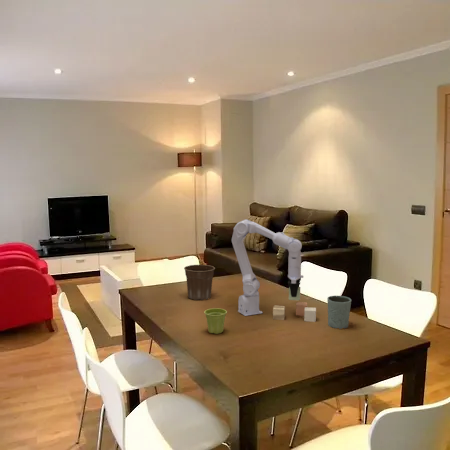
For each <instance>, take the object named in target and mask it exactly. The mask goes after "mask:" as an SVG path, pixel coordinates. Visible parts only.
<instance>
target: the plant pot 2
mask: <svg viewBox="0 0 450 450" xmlns="http://www.w3.org/2000/svg"><path fill="white" fill-rule="evenodd" d="M203 313H204V315H205V317H206V322H207V323H206V324H207V331H208V333H210V334H214V335H218V334H221V333H222V332H224V326H225V318H226V315H227V313H228V311H227V310H226V309H224V308H217V307H213V308H208V309H206V310H204V312H203Z"/></svg>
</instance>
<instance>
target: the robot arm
mask: <svg viewBox="0 0 450 450" xmlns="http://www.w3.org/2000/svg"><path fill="white" fill-rule="evenodd" d="M249 234H259V235H261V236H263V237H265V238H269V239H270V240H272V242H273V244H274V245H276V246H277V247H278V246H279V247H281V248H283V249H285V250H287V251H288V258H287V259H288V261H287V262H288V269H287V272H288V274H287V278H288V281H287V284H288V288H289V287H290V291H291V296H292V297H296V296H297V291H298V287H300V285H301V281H302V279H303V278H304V275H303V274H302V252H301V250H302V247H303V245H302V242H301V240H299V239H298V238H294V237H293V236H292V237H291V236H288V235H287V234H285V232H283V231H282V232H280V231H278V232H276V233H275V232H274V231H272V230H270V229H268V228H267V227H264V225H260V224H259V223H257V222H256V221H252V220H249V219H246V218H245V219H242V220H241V221H238V222H237V223H236V224H235V226H234V227H233V232H232V237H231V243H232V247H233V250H234V252H235V256H236V260H237V261H238V262H237V263H238V266H239V269H240V272H241V275H242V285H243V286H242V291H243V294H242V295H239V296H238V302H237V303H238V310H237V312H238V313H240V314H241V315H243V316H244V317H245V316H246V317H247V316H253V315H259V314H261V315H262V314H263V311H262V310H260V292H259V289H260V286H261V284H260V280H258V279H257V277H256V274H255V273H254V272H253V268H252V266H251V265H252V264H251V262H250V259H249V256H248V252H247V249H246V247H245V243H244V240H245V238H246V237H247V235H249Z"/></svg>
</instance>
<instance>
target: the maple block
mask: <svg viewBox="0 0 450 450" xmlns="http://www.w3.org/2000/svg"><path fill="white" fill-rule="evenodd" d="M285 317H286V306H285V305H273V307H272V320H279V321H280V320H283V321H285Z"/></svg>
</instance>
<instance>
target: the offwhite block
mask: <svg viewBox="0 0 450 450" xmlns="http://www.w3.org/2000/svg"><path fill="white" fill-rule="evenodd" d="M316 314H317V307H309V306H307V307H305V310H304V316H303V318H304V320H303V321H304V322H311V323H315V322H317V321H316V320H317V315H316Z"/></svg>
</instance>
